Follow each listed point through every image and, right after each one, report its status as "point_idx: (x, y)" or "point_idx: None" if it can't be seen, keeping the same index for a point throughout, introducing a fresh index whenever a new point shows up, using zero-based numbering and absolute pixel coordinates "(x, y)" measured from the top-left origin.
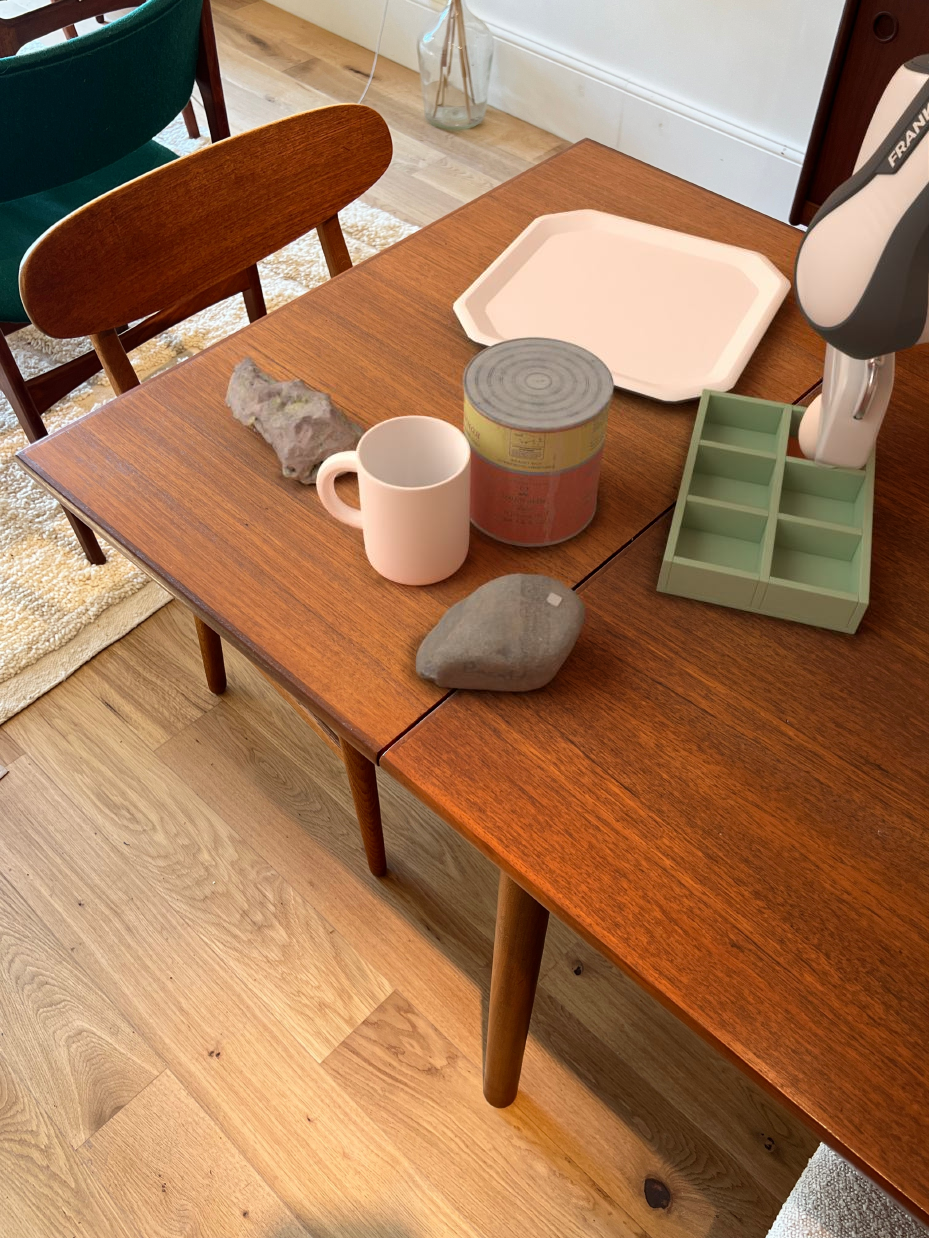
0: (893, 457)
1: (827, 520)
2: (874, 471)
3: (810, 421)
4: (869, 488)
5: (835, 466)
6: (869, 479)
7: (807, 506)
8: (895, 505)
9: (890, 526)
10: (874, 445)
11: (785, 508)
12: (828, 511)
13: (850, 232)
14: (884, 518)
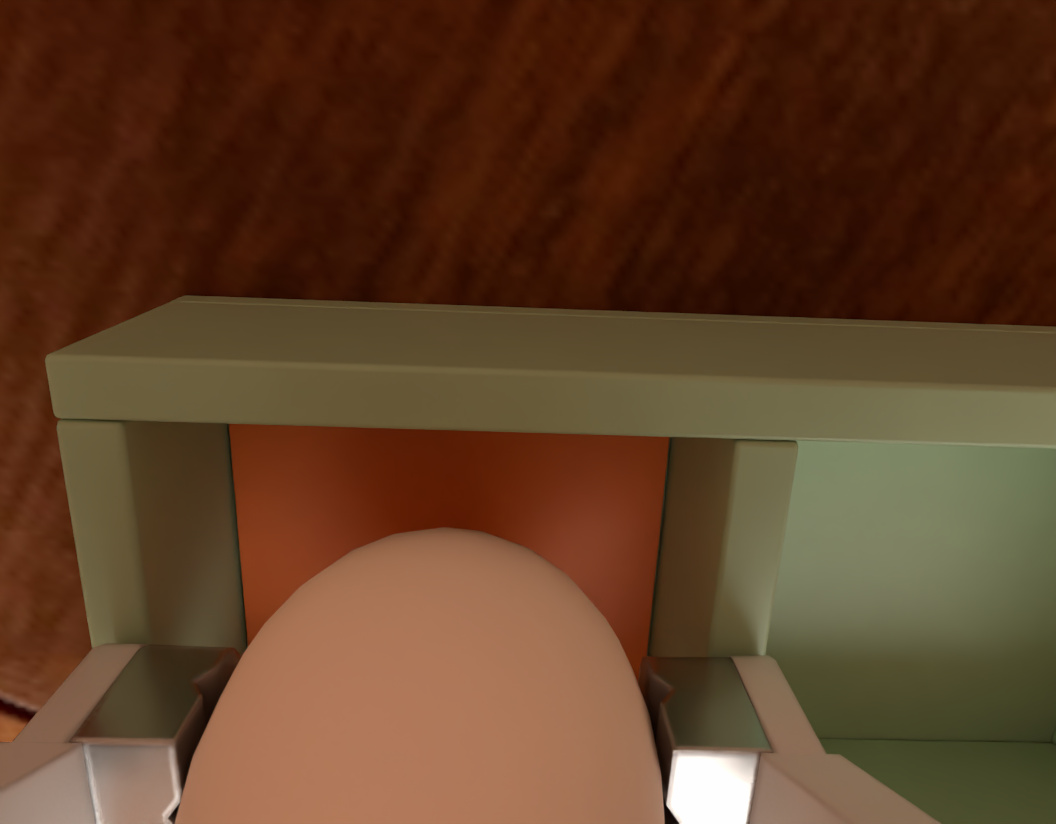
0: (164, 106)
1: (886, 502)
2: (727, 377)
3: None
4: (940, 416)
5: (771, 660)
6: (835, 416)
7: (795, 599)
8: (640, 106)
9: (837, 143)
10: (400, 377)
11: (821, 688)
12: (814, 499)
13: None
14: (771, 178)
